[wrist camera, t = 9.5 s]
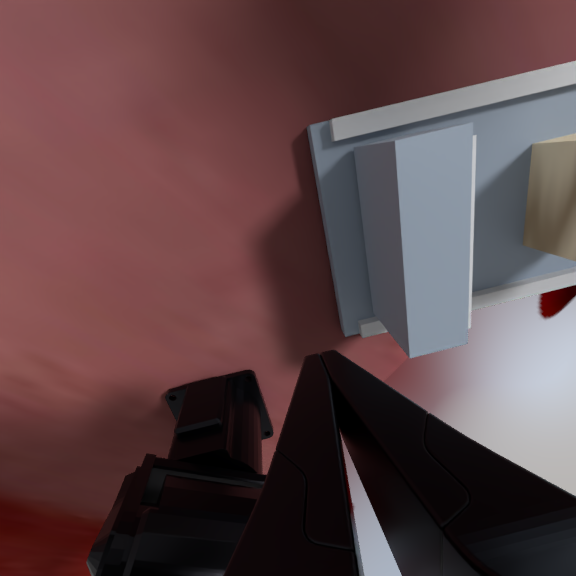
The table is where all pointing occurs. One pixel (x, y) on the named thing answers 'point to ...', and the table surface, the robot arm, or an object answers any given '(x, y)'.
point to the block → (552, 198)
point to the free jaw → (420, 234)
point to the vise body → (488, 184)
